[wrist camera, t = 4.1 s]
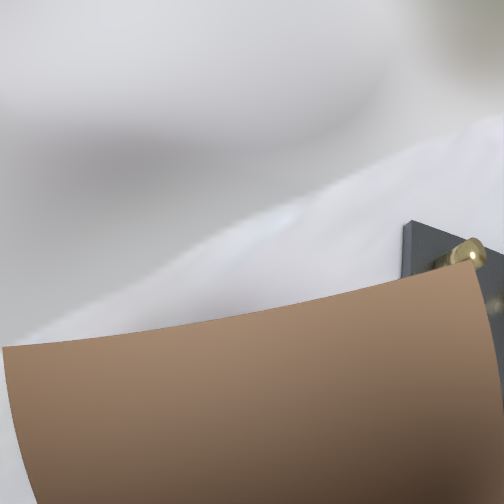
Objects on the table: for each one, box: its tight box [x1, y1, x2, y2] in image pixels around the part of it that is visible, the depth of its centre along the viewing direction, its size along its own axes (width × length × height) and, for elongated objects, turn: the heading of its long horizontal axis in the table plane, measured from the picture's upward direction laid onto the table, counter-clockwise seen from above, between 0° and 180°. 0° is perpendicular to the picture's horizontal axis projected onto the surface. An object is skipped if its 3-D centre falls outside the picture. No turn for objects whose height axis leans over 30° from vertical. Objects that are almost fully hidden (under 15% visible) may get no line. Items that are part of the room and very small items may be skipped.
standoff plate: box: [401, 220, 504, 412], centre depth 14 cm, size 13×13×4 cm
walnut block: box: [2, 259, 504, 504], centre depth 8 cm, size 5×5×13 cm
